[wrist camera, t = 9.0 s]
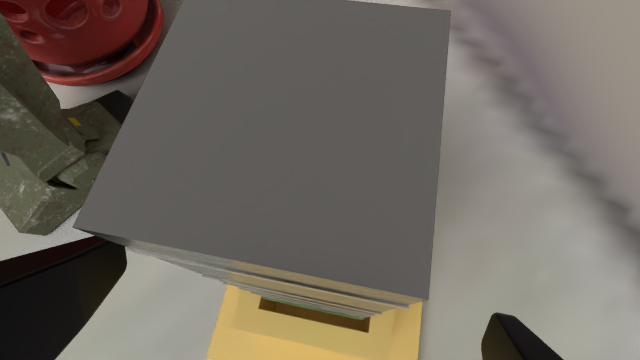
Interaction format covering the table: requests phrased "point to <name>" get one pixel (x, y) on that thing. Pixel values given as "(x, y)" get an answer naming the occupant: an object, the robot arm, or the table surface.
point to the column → (286, 152)
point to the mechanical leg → (48, 142)
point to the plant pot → (84, 36)
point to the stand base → (309, 332)
